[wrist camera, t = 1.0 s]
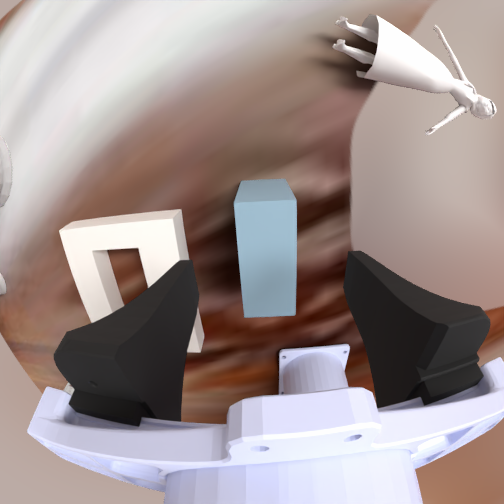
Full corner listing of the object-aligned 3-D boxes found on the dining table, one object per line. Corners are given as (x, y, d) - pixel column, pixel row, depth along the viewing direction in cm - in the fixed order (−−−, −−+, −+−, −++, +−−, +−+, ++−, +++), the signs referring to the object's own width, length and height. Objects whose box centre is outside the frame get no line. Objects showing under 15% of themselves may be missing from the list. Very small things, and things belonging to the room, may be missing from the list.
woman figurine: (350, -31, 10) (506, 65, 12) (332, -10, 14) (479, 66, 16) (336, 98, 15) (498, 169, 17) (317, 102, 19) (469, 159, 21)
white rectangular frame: (204, 336, 29) (200, 352, 26) (110, 331, 29) (102, 345, 27) (181, 209, 23) (172, 218, 20) (73, 221, 23) (59, 230, 21)
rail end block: (286, 267, 25) (295, 315, 19) (247, 269, 25) (244, 317, 19) (284, 178, 22) (296, 199, 15) (241, 180, 22) (233, 202, 15)
